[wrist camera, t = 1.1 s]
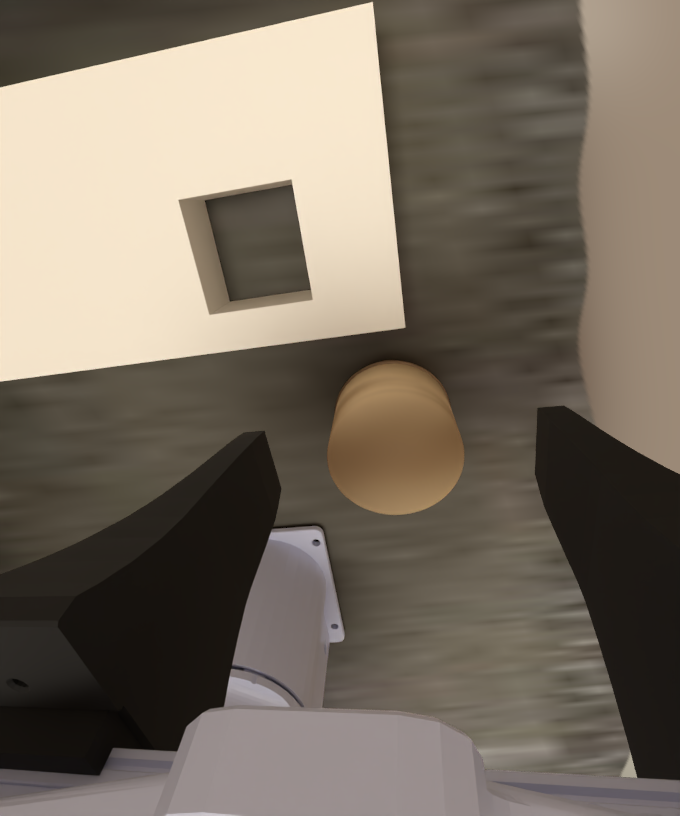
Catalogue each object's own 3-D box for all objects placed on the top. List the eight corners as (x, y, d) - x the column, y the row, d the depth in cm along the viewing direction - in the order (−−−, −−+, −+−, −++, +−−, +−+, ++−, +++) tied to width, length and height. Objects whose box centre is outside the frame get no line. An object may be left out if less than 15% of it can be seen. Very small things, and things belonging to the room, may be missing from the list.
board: (402, 312, 22) (405, 327, 19) (32, 363, 25) (-11, 382, 22) (373, 32, 18) (372, 2, 15) (-71, 130, 20) (-140, 119, 18)
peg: (445, 430, 25) (468, 510, 18) (347, 440, 25) (337, 520, 19) (438, 335, 22) (462, 386, 16) (332, 348, 23) (314, 403, 17)
